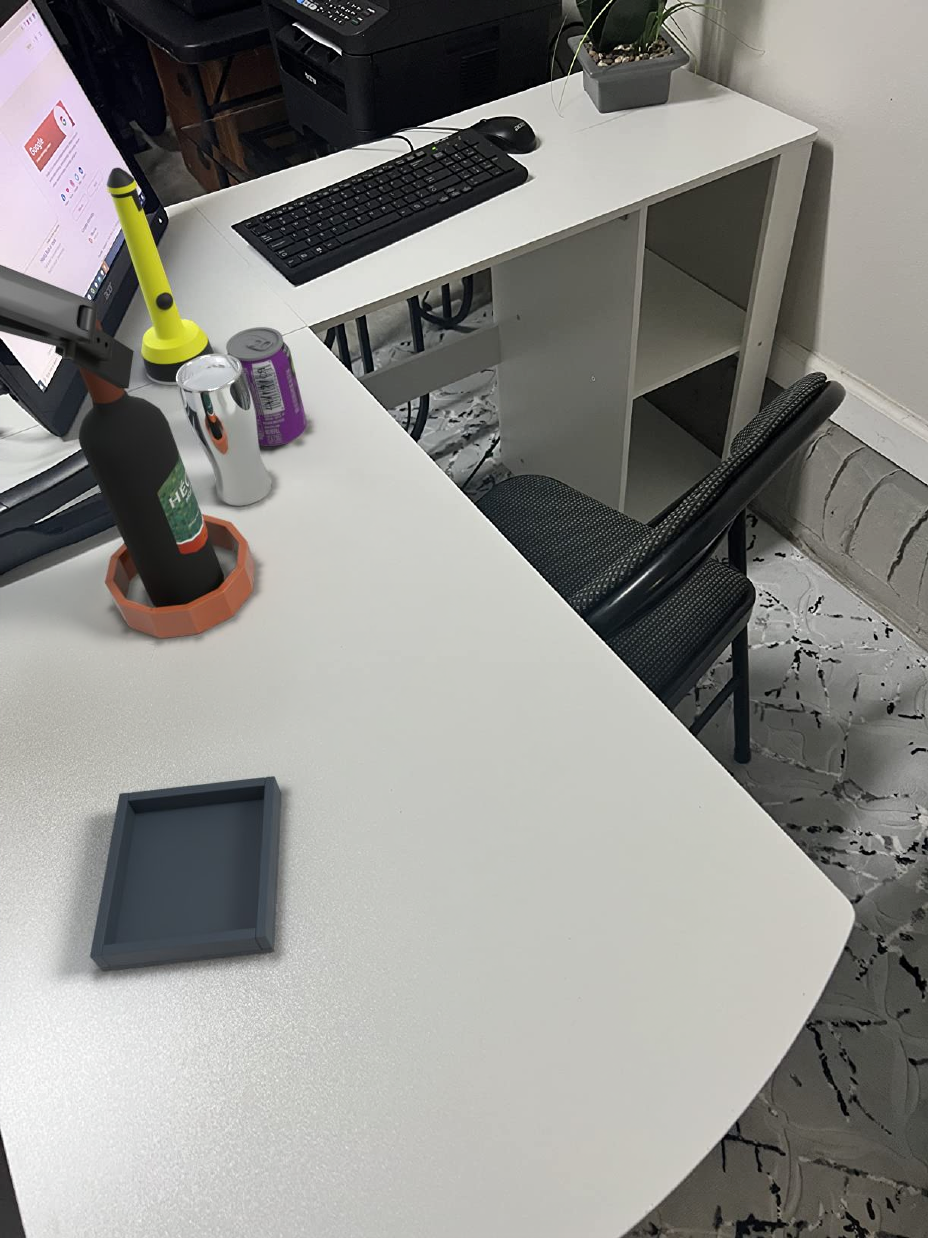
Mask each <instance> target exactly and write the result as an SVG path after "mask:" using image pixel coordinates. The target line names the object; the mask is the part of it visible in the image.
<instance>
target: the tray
mask: <svg viewBox="0 0 928 1238" xmlns="http://www.w3.org/2000/svg"><path fill="white" fill-rule="evenodd" d="M281 807H282V791H281V789H280V787H279V784H278V781H277V778H276V776H274V775H271V776H266V777H265V776H263V777H254V778H245V779H244V778H243V779H237V780H226V781H219V782H212V783H211V782H209V783H201V784H192V785H184V786H175V787H174V786H173V787H166V788H165V787H164V788H158V789H157V788H156V789H149V790H139V791H132V792H130V791H129V792H121V793H118V799H117V805H116V810H115V816H114V821H113V827H112V832H111V838H110V842H109V843H110V844H109V850H108V855H107V860H106V866H105V871H104V876H103V882H102V888H101V892H100V893H101V894H100V899H99V905H98V911H97V916H96V922H95V926H94V932H93V938H92V944H91V949H90V955H89V957H90V959H91V960H92V961H93V962H94V963H95V965H96V966H97V967H98V968H99V970H101V971H102V972H108V971H109V972H110V971H117V970H126V969H135V968H145V967H152V966H161V965H169V964H180V963H189V962H196V961H204V960H213V959H222V958H229V957H238V956H247V955H257V954H265V953H273V952H274V951H275V938H276V937H275V936H276V916H277V896H278V877H279V876H278V875H279V855H280V854H279V853H280V835H281V834H280V831H281V813H282V812H281V811H282V810H281V809H282V808H281Z"/></svg>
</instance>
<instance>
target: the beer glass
mask: <svg viewBox="0 0 928 1238" xmlns="http://www.w3.org/2000/svg"><path fill="white" fill-rule="evenodd" d="M176 381H177V383H178V385H177V387H178V390H179V395H180V399H181V404H182V406H183V407H182V408H183V410H184V414H185V416H186V419H187V422H188V424H189V427H190V429H191V431H192V433H193V435H194V437H195V440H196V441H197V442H198V444H199V446H200V447H201V449H202V451H203V452H204V454H205V457H206V458H207V460H208V461H209V463H210V465H211V467H212V468H211V469H212V470H213V474H214V479H215V489H216V494H217V496H218V497H217V498H219V500H220V501H222V502H223V503H224V504H225V505H231V506H234V507H235V506H237V507H241V506H243V507H244V506H249V505H252V504H255V503H257V502H259V501H261V500H262V499H264V498H265V497H266V496H267V495H268V494H269V493H270V491H271V489H272V486H273V481H272V477H271V474H270V473H269V471H268V469H267V467H266V465H265V464H264V462H263V458H262V455H261V449H260V445H259V435H258V422H257V414H256V408H255V404H254V400H253V396H252V393H251V390H250V387H249V384H248V382H247V379H246V376H245V374H244V371H243V368H242V365H241V362H240V361H239V360H238V359H237V358H235V357H233V356H231V355H228V353H227V354H226V353H214V354H209V355H204V356H200V357H197V358H195V359H193V360H191V361H189V362H187V363H186V364H184V365H183V366H182V367H181V368H180V369H179V371H178V373H177V375H176Z"/></svg>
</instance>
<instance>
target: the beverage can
mask: <svg viewBox="0 0 928 1238" xmlns="http://www.w3.org/2000/svg"><path fill="white" fill-rule="evenodd" d="M225 346H226V347H225V348H226V352H227V355H231V356H233V357H235V358H237V359H238V360H239V361H240V362H241V365H242V368H243V371H244V374H245V376H246V379H247V382H248V384H249V387H250V390H251V393H252V396H253V400H254V404H255V408H256V414H257V422H258V435H259V446H266V447H275V446H281V445H286V444H288V443H291V442H293V441H294V440H296V439H298V438H299V437H300V436H301V435H302V434H304V432H305V430H306V428H307V425H308V421H307V416H306V412H305V408H304V404H303V400H302V395H301V390H300V387H299V383H298V378H297V374H296V370H295V366H294V362H293V361H294V360H293V357H292V353H291V350H290V347H289V346H288V345H287V343H286V342H285V341H284V338H283V334H282V333H281V331H279V330H278V329H274V328H272V327H266V326H256V327H250V328H247V329H244V330H242V331H239V332H237V333H235V334H234V335H232V336H231V337H230V338H229V339H228V340H227V342H226V344H225Z"/></svg>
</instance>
